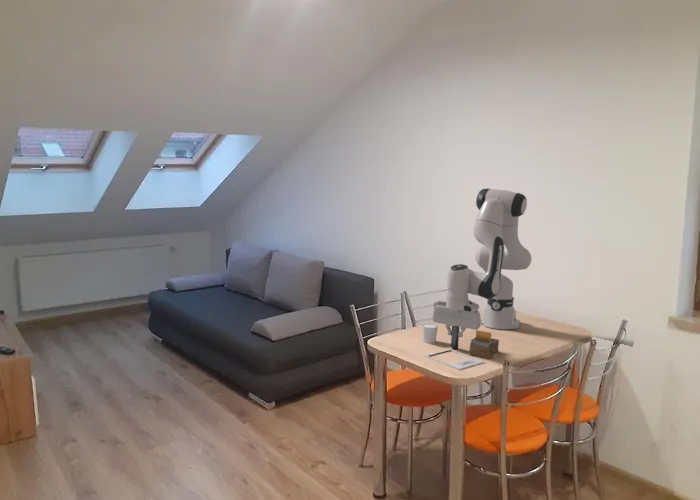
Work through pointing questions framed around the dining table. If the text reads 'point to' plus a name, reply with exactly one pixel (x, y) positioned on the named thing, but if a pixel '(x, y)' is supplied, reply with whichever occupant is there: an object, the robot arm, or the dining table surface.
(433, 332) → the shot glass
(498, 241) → the robot arm
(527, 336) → the dining table surface
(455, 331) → the peg
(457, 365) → the photo frame
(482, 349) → the dock
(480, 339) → the bar
